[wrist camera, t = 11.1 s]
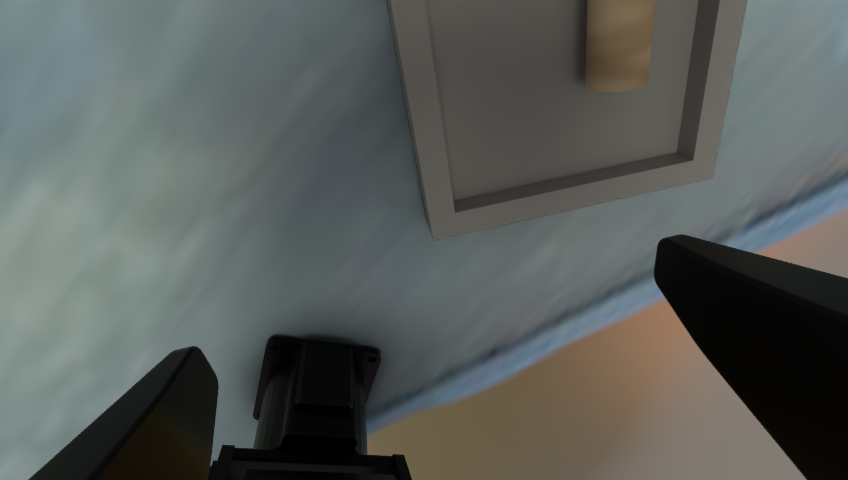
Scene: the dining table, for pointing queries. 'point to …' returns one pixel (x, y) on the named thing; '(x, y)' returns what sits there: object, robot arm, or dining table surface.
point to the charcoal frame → (554, 106)
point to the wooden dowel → (618, 44)
